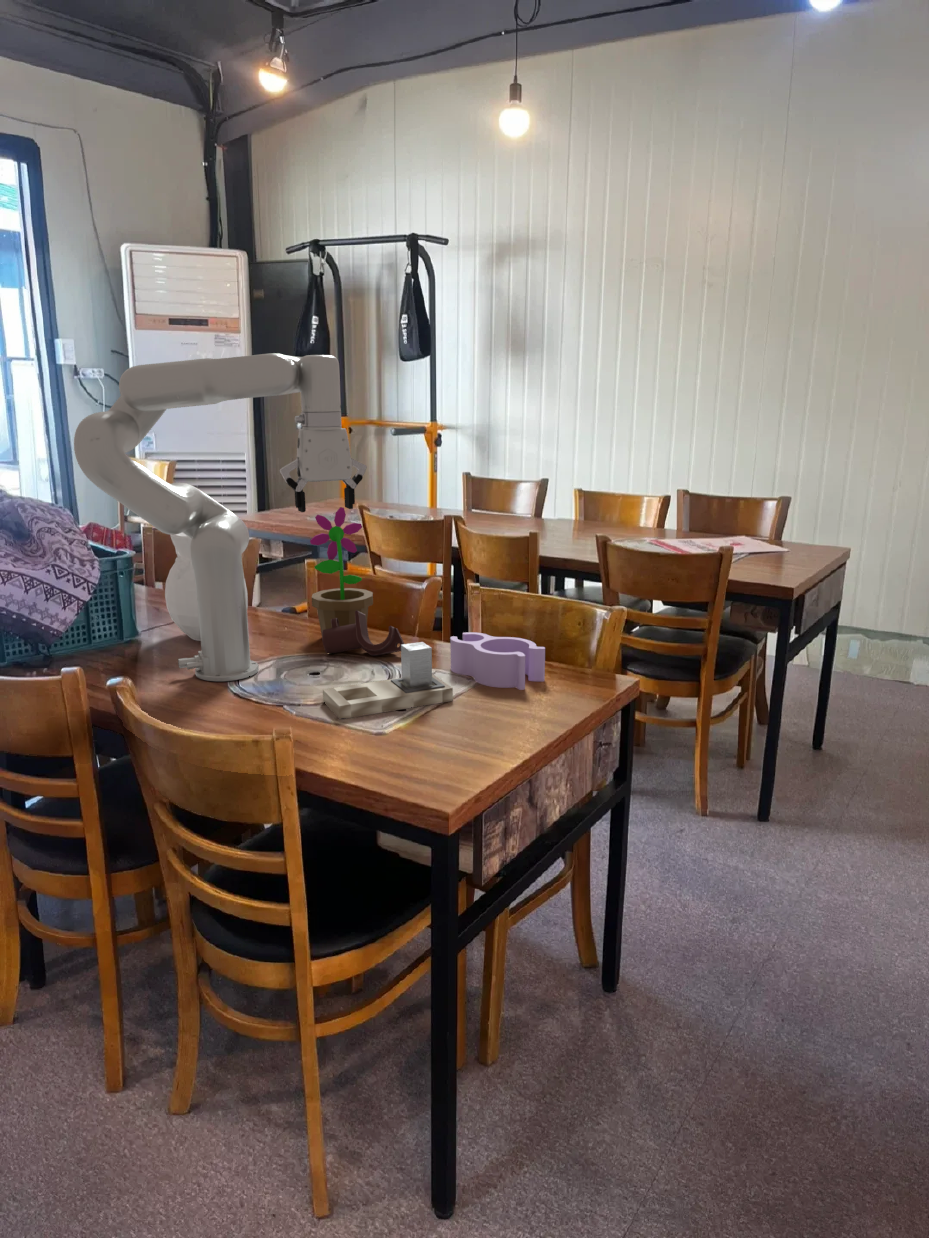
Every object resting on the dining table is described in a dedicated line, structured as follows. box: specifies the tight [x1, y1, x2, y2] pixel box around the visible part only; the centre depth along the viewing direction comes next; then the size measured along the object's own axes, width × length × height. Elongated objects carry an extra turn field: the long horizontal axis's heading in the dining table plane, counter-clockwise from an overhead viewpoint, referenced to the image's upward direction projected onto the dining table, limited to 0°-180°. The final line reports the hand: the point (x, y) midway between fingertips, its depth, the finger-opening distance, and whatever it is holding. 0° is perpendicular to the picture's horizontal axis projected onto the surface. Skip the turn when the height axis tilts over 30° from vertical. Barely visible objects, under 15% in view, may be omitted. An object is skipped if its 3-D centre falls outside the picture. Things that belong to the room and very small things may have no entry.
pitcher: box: [164, 532, 249, 642], centre depth 212 cm, size 19×18×25 cm
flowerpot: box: [309, 506, 374, 635], centre depth 210 cm, size 14×14×30 cm
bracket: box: [321, 610, 405, 657], centre depth 200 cm, size 6×17×10 cm, turn 86°
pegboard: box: [322, 673, 454, 720], centre depth 170 cm, size 22×10×3 cm, turn 115°
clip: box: [449, 631, 546, 691], centre depth 185 cm, size 20×12×7 cm, turn 49°
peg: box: [400, 641, 433, 689], centre depth 172 cm, size 4×4×10 cm
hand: (325, 509), depth 181 cm, fingers open, 9 cm apart
